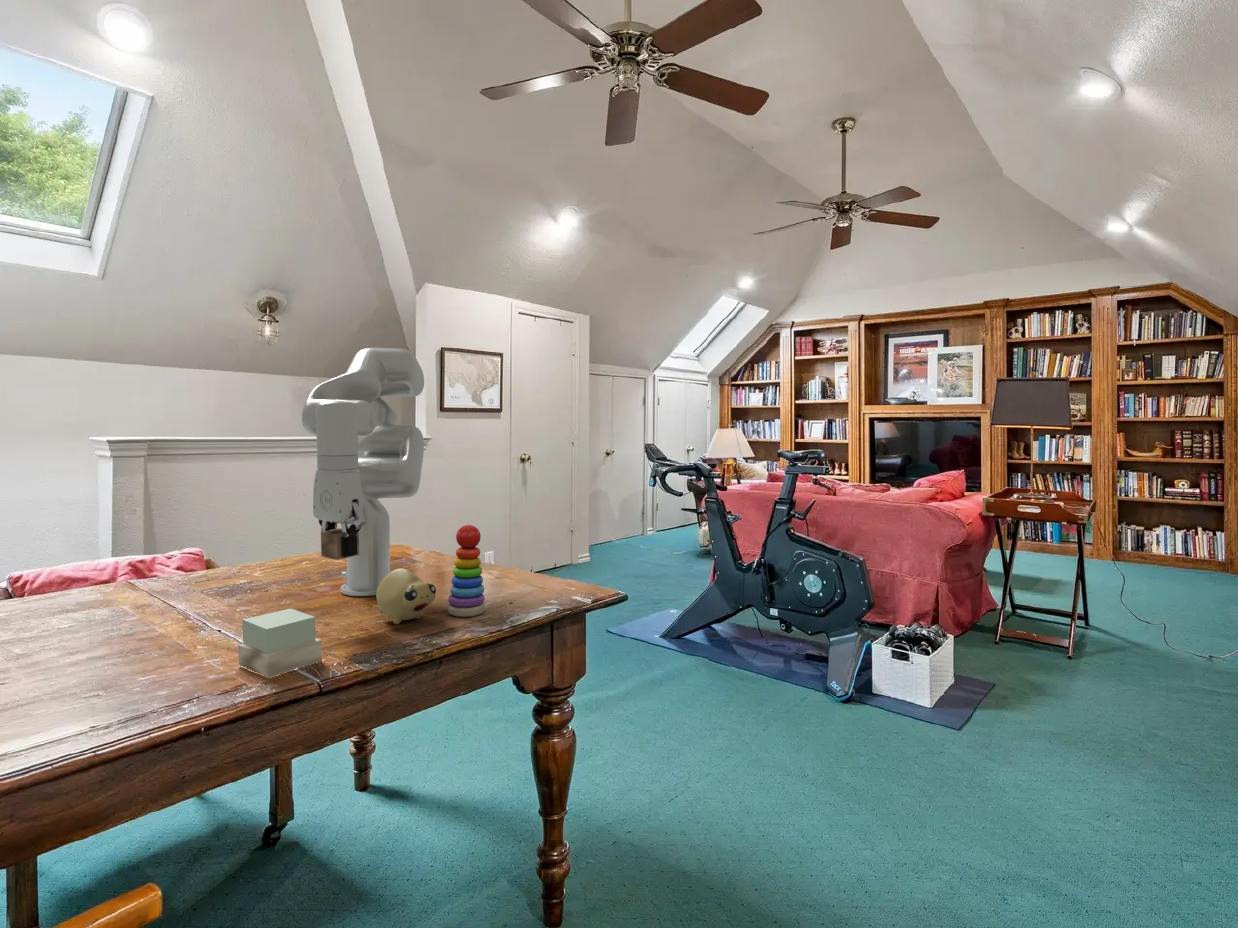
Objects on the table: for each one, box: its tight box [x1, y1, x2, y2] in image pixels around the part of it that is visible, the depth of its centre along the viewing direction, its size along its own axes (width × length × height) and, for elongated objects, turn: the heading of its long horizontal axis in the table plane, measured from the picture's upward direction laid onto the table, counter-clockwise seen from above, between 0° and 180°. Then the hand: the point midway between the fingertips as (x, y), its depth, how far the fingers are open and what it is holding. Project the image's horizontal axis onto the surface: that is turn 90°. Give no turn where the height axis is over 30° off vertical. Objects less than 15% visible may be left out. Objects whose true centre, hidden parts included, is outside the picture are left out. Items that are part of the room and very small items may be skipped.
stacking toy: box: [447, 524, 487, 618], centre depth 138 cm, size 8×8×19 cm
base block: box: [237, 638, 323, 679], centre depth 109 cm, size 9×9×4 cm
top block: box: [242, 608, 316, 654], centre depth 109 cm, size 8×8×4 cm
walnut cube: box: [320, 527, 359, 561], centre depth 130 cm, size 5×5×5 cm
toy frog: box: [375, 567, 437, 625], centre depth 132 cm, size 10×12×11 cm
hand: (340, 552), depth 130 cm, fingers closed on walnut cube, 5 cm apart
